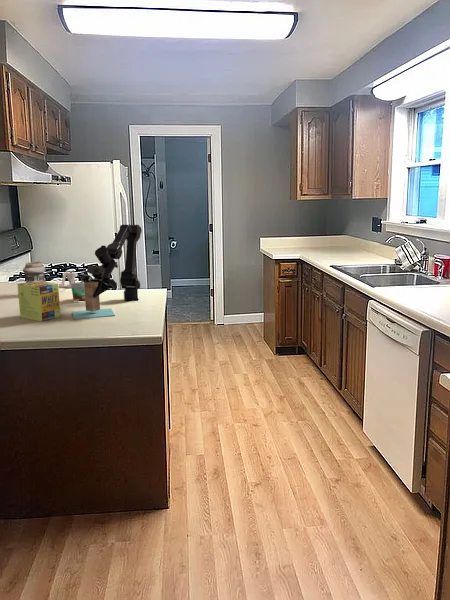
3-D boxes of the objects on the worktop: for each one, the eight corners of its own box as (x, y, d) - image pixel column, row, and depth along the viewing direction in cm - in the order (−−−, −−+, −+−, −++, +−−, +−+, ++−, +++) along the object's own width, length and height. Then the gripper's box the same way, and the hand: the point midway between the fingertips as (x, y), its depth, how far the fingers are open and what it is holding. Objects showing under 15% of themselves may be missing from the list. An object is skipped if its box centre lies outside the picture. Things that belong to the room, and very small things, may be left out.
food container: (83, 303, 258) (81, 284, 256) (72, 302, 259) (70, 283, 257) (94, 298, 270) (92, 279, 268) (83, 298, 271) (82, 279, 269)
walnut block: (93, 308, 237) (91, 281, 235) (100, 309, 235) (98, 282, 232) (85, 310, 234) (84, 282, 231) (92, 311, 231) (91, 283, 228)
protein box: (42, 321, 222) (39, 287, 218) (19, 317, 230) (16, 283, 226) (61, 316, 230) (58, 283, 227) (39, 312, 238) (36, 280, 235)
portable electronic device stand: (59, 287, 301) (58, 273, 300) (68, 285, 308) (67, 271, 307) (70, 288, 298) (69, 274, 296) (79, 286, 305) (78, 272, 303)
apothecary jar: (20, 296, 277) (17, 263, 273) (35, 292, 288) (33, 260, 284) (37, 297, 272) (34, 264, 268) (52, 293, 283) (50, 261, 279)
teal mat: (111, 309, 244) (110, 308, 244) (114, 315, 231) (114, 314, 231) (72, 312, 238) (72, 311, 238) (74, 319, 225) (73, 318, 225)
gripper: (82, 257, 237) (65, 284, 231) (111, 260, 228) (94, 288, 221) (95, 271, 246) (79, 298, 239) (124, 275, 236) (108, 302, 229)
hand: (89, 296), depth 232 cm, fingers closed on walnut block, 4 cm apart
